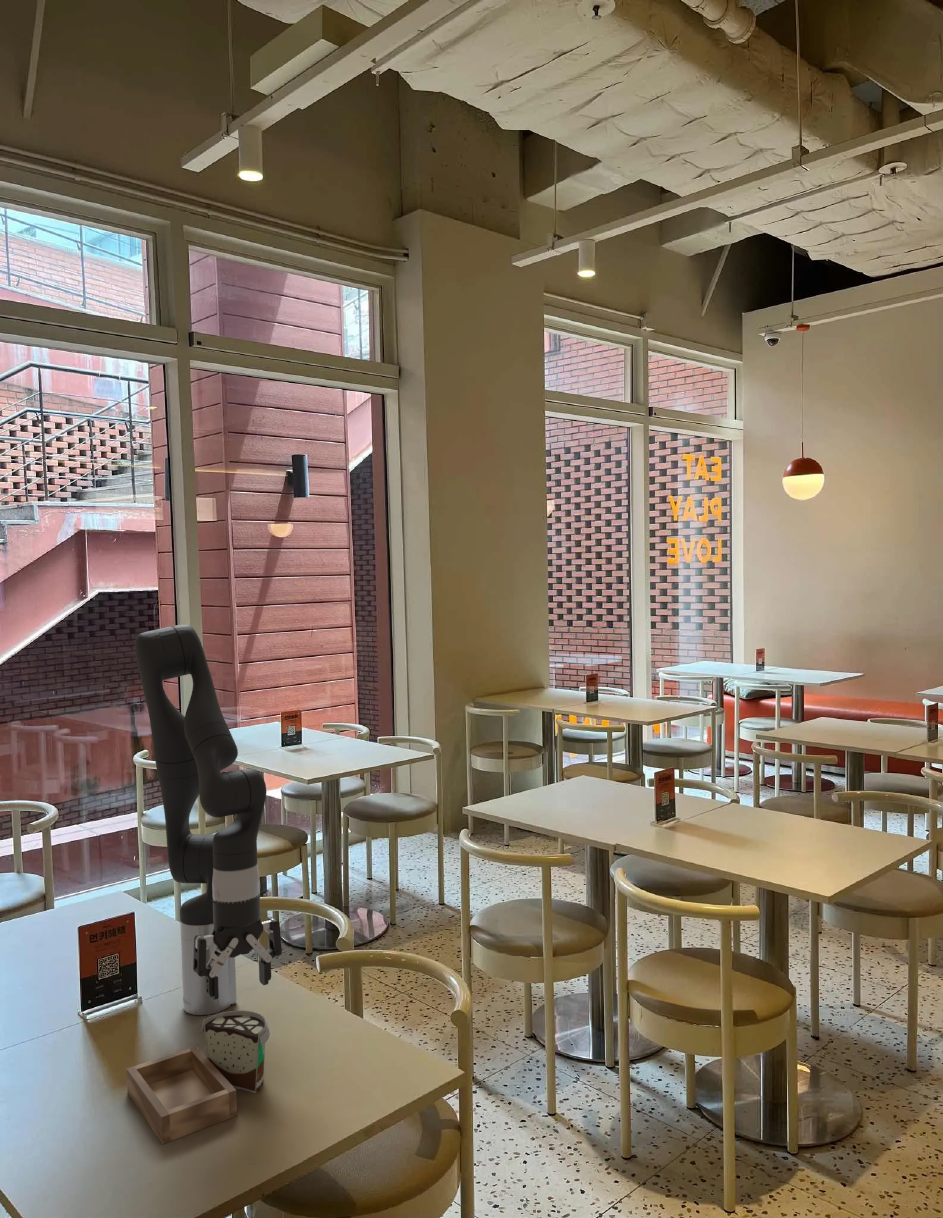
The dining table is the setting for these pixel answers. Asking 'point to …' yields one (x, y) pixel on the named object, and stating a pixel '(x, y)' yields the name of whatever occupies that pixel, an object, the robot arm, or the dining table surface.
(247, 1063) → the food container
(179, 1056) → the wooden box
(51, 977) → the dining table surface
